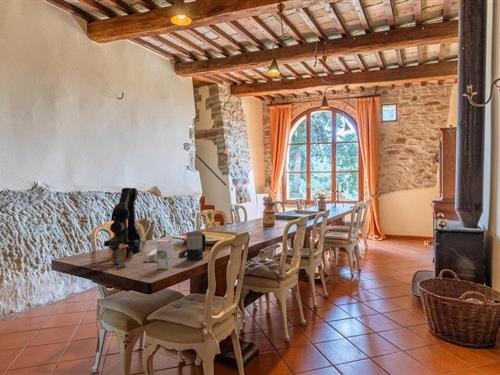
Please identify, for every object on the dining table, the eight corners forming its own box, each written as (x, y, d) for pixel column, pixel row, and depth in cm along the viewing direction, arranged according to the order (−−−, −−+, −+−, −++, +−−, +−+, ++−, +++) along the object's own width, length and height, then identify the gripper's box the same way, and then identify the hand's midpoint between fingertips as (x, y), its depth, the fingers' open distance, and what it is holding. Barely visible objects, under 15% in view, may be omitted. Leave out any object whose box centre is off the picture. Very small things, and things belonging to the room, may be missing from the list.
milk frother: (200, 261, 188) (199, 234, 187) (172, 261, 190) (171, 234, 190) (207, 255, 202) (206, 229, 201) (181, 255, 204) (180, 229, 204)
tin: (116, 266, 182) (115, 250, 182) (110, 266, 183) (110, 250, 183) (133, 259, 197) (133, 244, 196) (128, 259, 198) (128, 244, 197)
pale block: (145, 262, 191) (145, 255, 190) (157, 254, 211) (157, 247, 210) (163, 262, 190) (162, 254, 190) (173, 253, 210) (173, 247, 210)
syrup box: (172, 266, 178) (171, 238, 178) (167, 269, 172) (166, 240, 172) (162, 266, 179) (161, 238, 179) (157, 269, 173) (155, 240, 173)
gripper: (96, 232, 184) (97, 262, 184) (128, 233, 179) (129, 263, 180) (109, 229, 194) (110, 257, 195) (139, 229, 190) (141, 257, 191)
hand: (122, 258), depth 190 cm, fingers open, 6 cm apart
